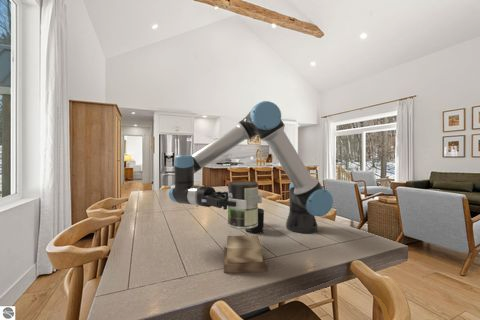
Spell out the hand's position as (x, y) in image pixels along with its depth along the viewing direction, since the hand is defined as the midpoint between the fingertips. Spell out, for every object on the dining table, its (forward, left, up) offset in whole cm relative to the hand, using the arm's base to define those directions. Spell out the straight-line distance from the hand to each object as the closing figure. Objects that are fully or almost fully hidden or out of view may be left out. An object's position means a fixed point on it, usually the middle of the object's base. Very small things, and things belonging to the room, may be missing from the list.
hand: (254, 201), depth 71 cm
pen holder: (-4, -34, -21) cm, 40 cm away
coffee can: (+4, -2, -8) cm, 9 cm away
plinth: (+3, -2, -21) cm, 21 cm away
